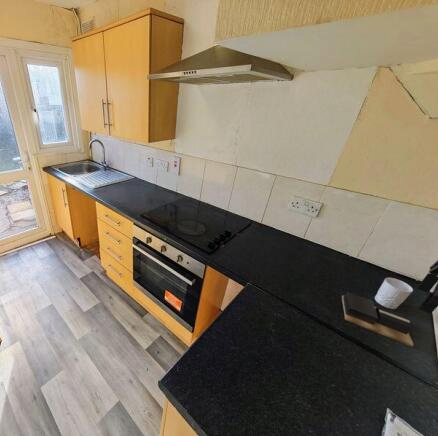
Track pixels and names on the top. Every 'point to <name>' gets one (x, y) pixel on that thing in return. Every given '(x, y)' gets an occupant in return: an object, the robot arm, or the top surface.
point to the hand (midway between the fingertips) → (423, 299)
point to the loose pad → (393, 320)
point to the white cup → (393, 293)
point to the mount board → (381, 329)
